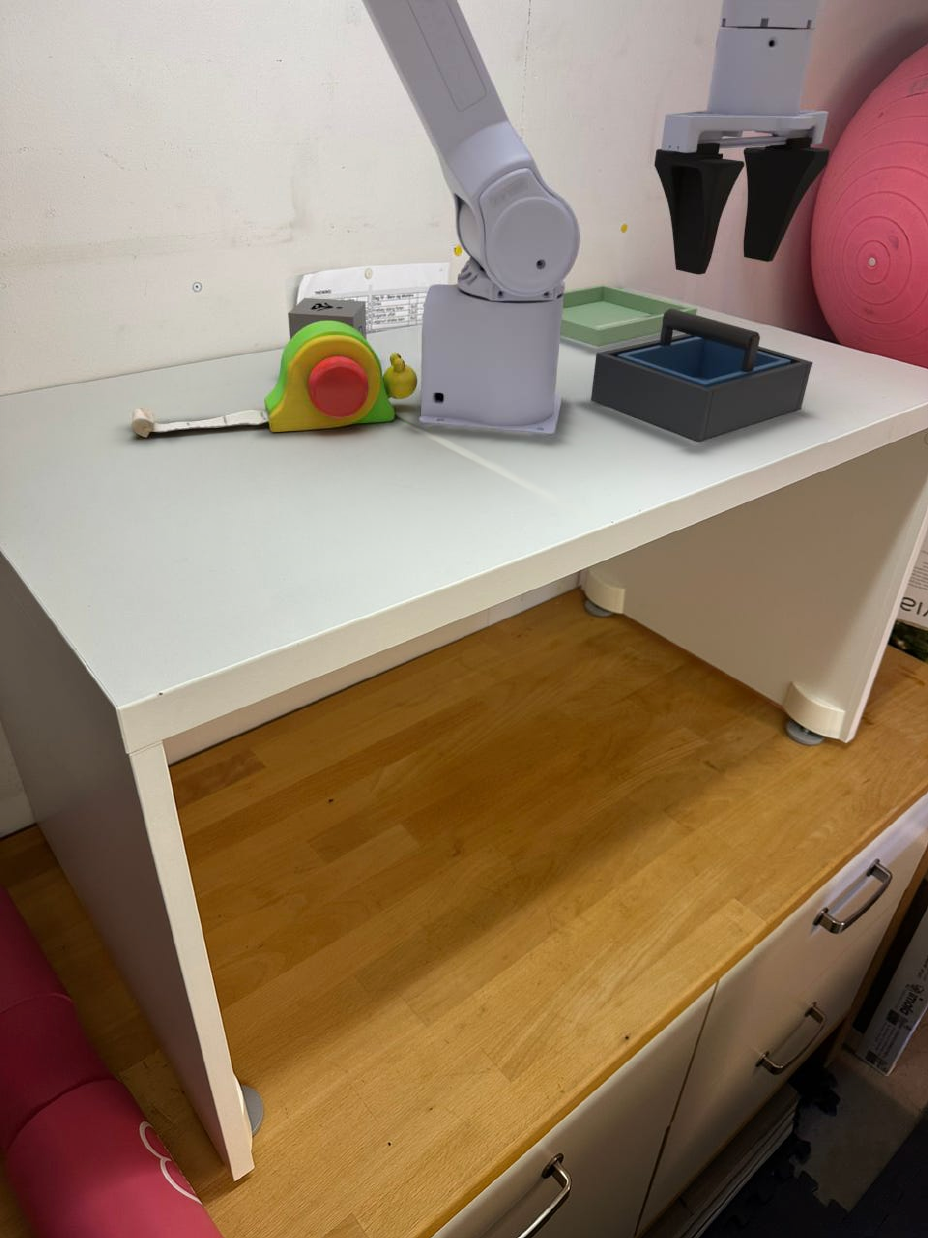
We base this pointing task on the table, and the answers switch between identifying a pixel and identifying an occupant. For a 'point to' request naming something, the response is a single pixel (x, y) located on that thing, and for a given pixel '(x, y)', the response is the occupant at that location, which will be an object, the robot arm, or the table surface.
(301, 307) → the dark gray cube
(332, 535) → the table surface
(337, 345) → the toy measuring tape
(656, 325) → the green tray
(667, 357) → the blue bin
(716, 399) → the charcoal bin
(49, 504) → the table surface
